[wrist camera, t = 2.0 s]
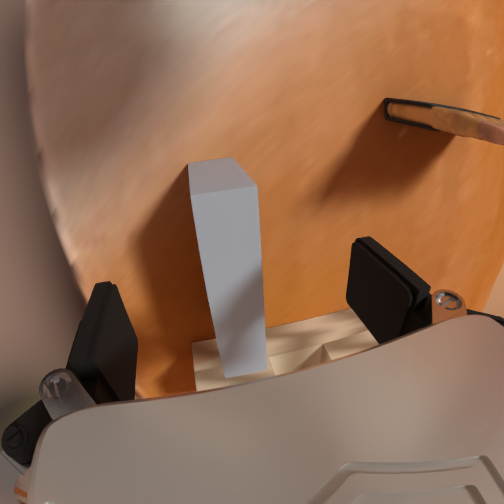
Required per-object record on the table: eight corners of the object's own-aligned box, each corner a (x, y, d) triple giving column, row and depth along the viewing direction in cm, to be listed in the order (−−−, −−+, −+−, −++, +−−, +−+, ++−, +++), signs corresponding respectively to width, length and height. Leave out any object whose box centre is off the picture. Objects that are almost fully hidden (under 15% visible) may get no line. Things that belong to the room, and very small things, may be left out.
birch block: (197, 362, 28) (205, 421, 22) (191, 342, 26) (198, 404, 20) (360, 324, 30) (392, 369, 25) (365, 304, 29) (400, 349, 23)
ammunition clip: (384, 119, 20) (512, 159, 10) (383, 97, 19) (515, 124, 9) (462, 126, 21) (561, 163, 11) (462, 108, 20) (563, 141, 10)
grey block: (187, 163, 18) (190, 195, 13) (232, 157, 19) (257, 185, 13) (212, 314, 25) (225, 378, 19) (246, 308, 25) (267, 369, 20)
